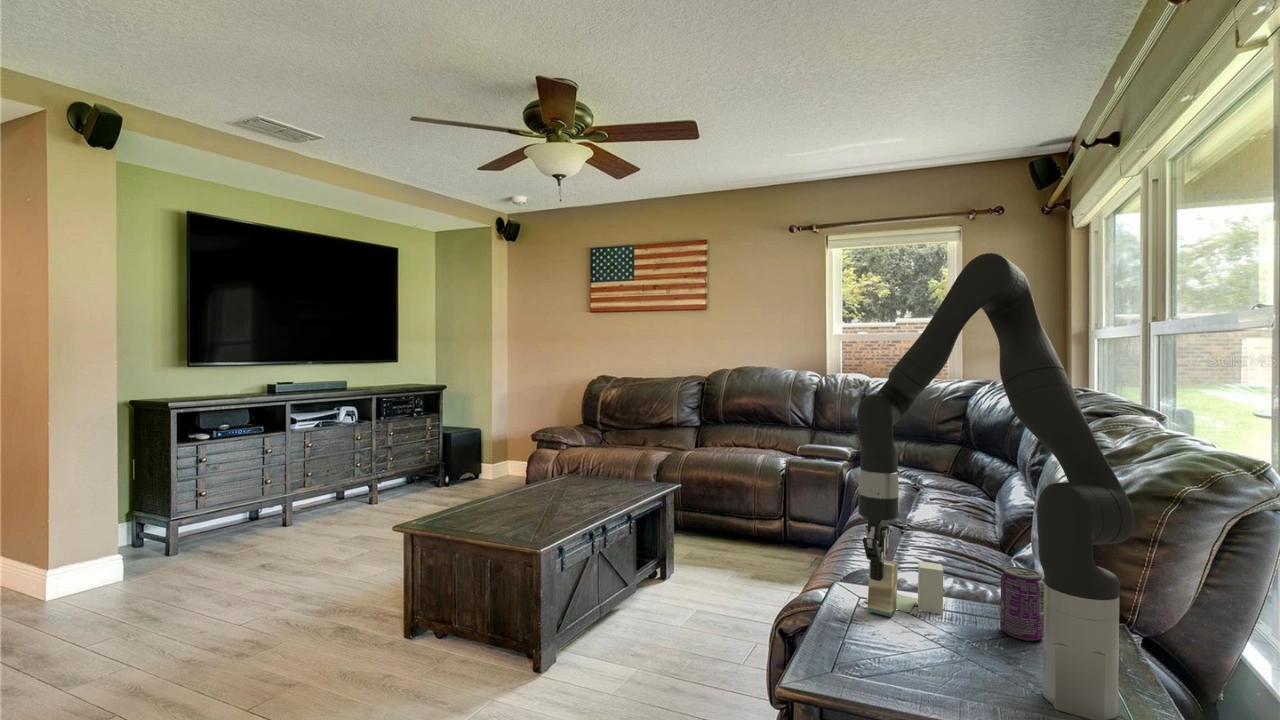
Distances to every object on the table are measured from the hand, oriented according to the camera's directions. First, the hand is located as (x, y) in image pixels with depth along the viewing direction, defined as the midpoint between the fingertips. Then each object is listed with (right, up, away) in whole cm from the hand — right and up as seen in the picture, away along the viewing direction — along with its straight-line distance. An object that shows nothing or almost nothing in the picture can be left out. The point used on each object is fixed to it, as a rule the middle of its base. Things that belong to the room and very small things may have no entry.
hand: (876, 579), depth 123 cm
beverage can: (+25, -8, -7) cm, 27 cm away
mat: (+7, -8, +9) cm, 14 cm away
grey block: (+13, -8, +5) cm, 16 cm away
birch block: (+2, -8, +2) cm, 8 cm away
